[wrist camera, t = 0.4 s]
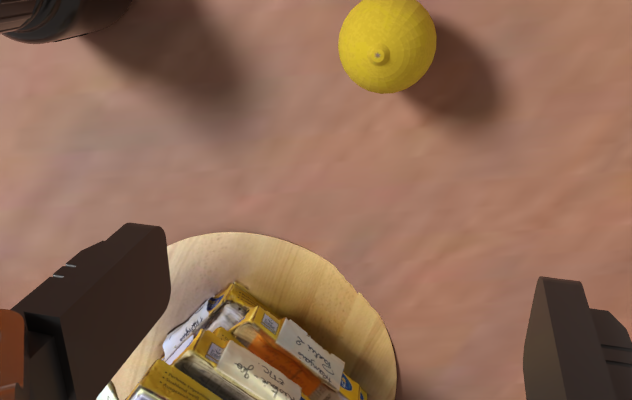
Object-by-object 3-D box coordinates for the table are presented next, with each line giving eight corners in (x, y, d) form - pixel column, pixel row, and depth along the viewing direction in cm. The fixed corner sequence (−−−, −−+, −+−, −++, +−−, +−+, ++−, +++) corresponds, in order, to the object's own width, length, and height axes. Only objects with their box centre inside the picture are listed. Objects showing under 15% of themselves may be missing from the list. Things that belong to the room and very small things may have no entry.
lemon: (456, 14, 36) (453, 33, 29) (410, 92, 38) (396, 127, 31) (378, -30, 36) (356, -22, 29) (337, 50, 39) (307, 75, 31)
